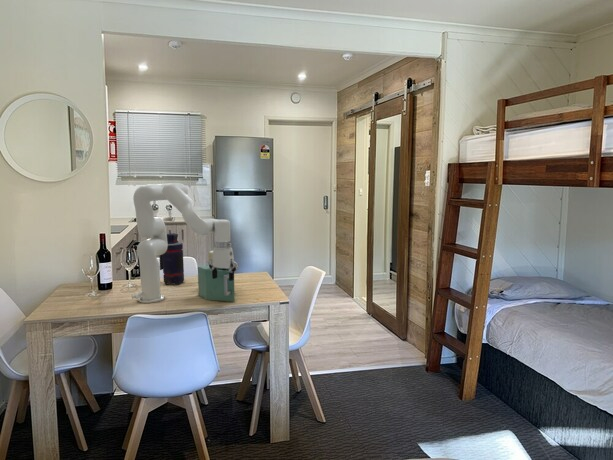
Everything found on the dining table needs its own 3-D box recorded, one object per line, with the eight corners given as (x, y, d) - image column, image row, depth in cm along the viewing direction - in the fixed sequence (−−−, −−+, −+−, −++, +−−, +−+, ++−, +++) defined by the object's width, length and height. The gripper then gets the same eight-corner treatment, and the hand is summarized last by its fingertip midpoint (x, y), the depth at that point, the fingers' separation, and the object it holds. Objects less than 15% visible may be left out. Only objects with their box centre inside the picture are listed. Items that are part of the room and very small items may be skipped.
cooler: (234, 294, 241) (233, 265, 239) (206, 299, 232) (205, 269, 230) (225, 290, 249) (224, 262, 247) (198, 295, 240) (197, 266, 238)
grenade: (187, 281, 273) (185, 232, 270) (179, 285, 262) (176, 235, 258) (166, 280, 275) (163, 232, 272) (157, 285, 264) (154, 234, 260)
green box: (229, 304, 221) (228, 273, 219) (200, 302, 226) (199, 271, 224) (234, 301, 226) (233, 271, 224) (207, 299, 231) (206, 269, 230)
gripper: (241, 245, 217) (242, 279, 219) (212, 242, 224) (213, 276, 226) (233, 247, 210) (233, 282, 212) (203, 244, 217) (204, 279, 219)
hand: (223, 279), depth 219 cm, fingers open, 9 cm apart
